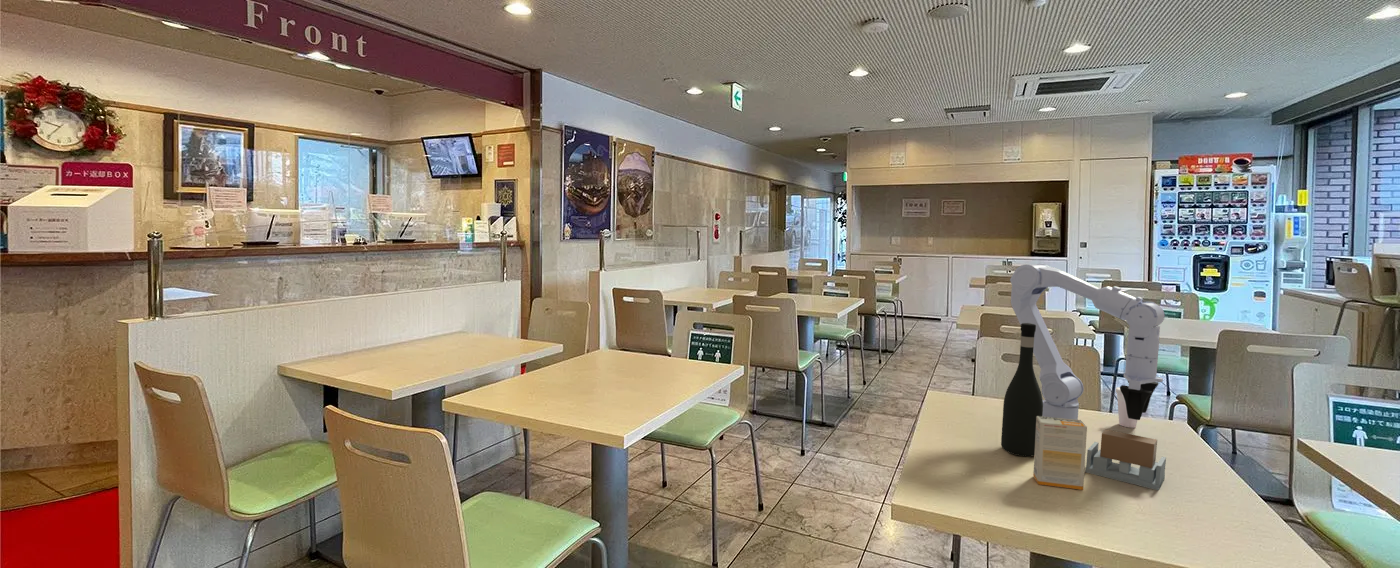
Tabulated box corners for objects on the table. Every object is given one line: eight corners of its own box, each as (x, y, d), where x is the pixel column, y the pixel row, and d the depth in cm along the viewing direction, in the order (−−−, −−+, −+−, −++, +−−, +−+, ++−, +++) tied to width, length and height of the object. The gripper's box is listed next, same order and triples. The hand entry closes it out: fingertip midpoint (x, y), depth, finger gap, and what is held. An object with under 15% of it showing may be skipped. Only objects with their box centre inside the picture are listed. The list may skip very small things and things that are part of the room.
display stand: (1085, 472, 129) (1086, 450, 129) (1093, 462, 135) (1095, 441, 134) (1158, 490, 120) (1160, 467, 120) (1164, 479, 126) (1166, 456, 126)
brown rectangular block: (1100, 456, 129) (1101, 433, 128) (1104, 451, 132) (1105, 429, 131) (1152, 468, 123) (1154, 444, 122) (1155, 463, 125) (1157, 439, 125)
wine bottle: (1012, 443, 146) (1020, 320, 144) (1046, 453, 140) (1055, 324, 137) (993, 449, 142) (1001, 322, 139) (1027, 460, 135) (1036, 327, 132)
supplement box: (1077, 481, 124) (1081, 419, 123) (1083, 491, 119) (1088, 426, 118) (1031, 475, 127) (1036, 414, 125) (1036, 484, 122) (1040, 421, 121)
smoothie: (1147, 430, 158) (1151, 377, 157) (1119, 428, 159) (1123, 375, 158) (1134, 422, 164) (1139, 371, 163) (1108, 420, 166) (1112, 370, 164)
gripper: (1159, 363, 128) (1153, 426, 129) (1168, 354, 138) (1163, 412, 140) (1119, 358, 133) (1114, 419, 134) (1131, 350, 143) (1126, 406, 144)
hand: (1137, 415), depth 137 cm, fingers open, 7 cm apart
